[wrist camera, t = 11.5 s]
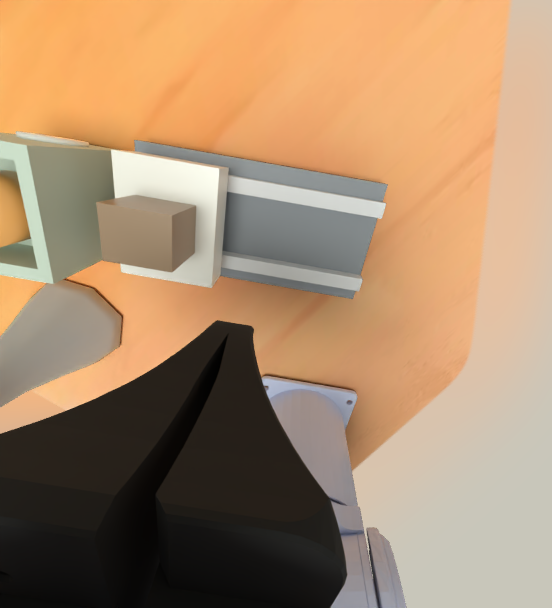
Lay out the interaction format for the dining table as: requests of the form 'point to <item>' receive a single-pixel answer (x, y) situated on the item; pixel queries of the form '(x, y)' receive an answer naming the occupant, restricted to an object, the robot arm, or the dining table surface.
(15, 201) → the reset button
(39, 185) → the cabinet
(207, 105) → the dining table surface
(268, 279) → the rail track
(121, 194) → the carriage
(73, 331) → the flask
